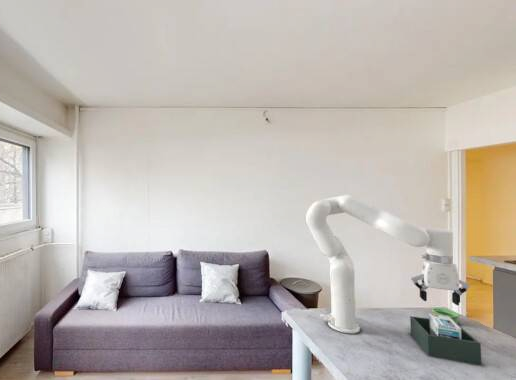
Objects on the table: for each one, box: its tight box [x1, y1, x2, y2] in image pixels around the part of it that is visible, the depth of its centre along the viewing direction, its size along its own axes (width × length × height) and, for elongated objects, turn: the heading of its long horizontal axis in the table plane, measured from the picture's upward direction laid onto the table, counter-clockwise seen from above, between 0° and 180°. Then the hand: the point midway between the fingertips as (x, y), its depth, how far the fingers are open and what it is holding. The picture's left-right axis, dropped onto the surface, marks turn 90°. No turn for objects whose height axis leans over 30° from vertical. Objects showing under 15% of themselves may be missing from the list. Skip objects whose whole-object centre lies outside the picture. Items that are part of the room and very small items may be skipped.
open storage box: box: [409, 315, 482, 366], centre depth 105 cm, size 15×17×8 cm
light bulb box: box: [428, 313, 462, 340], centre depth 104 cm, size 11×7×11 cm, turn 150°
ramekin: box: [431, 307, 460, 324], centre depth 125 cm, size 9×9×4 cm
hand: (439, 301), depth 105 cm, fingers open, 9 cm apart
